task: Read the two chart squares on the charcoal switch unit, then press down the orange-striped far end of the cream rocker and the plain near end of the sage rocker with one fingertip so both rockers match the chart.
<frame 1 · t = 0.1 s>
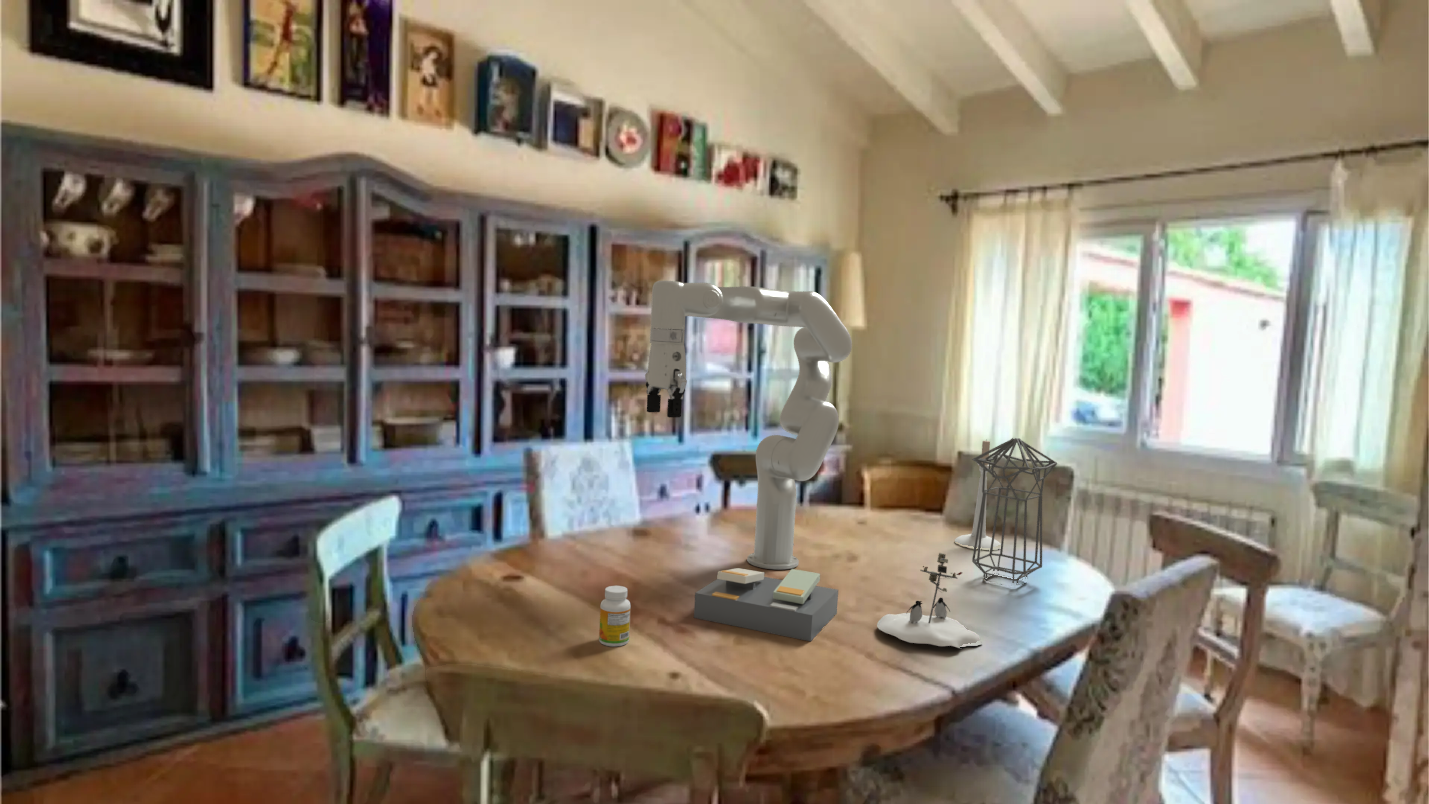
hand: (663, 414, 189), 37 cm above the table, fingers open, 9 cm apart
cream rocker: (741, 575, 173), point 7 cm above the table, hinge at -10.0°
figurine: (927, 638, 164), on the table
sage rocker: (797, 585, 168), point 7 cm above the table, hinge at 10.0°
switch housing: (766, 615, 171), on the table
candlestick: (977, 545, 239), on the table
supplement bottle: (613, 642, 153), on the table
geometric lantern: (1004, 583, 203), on the table
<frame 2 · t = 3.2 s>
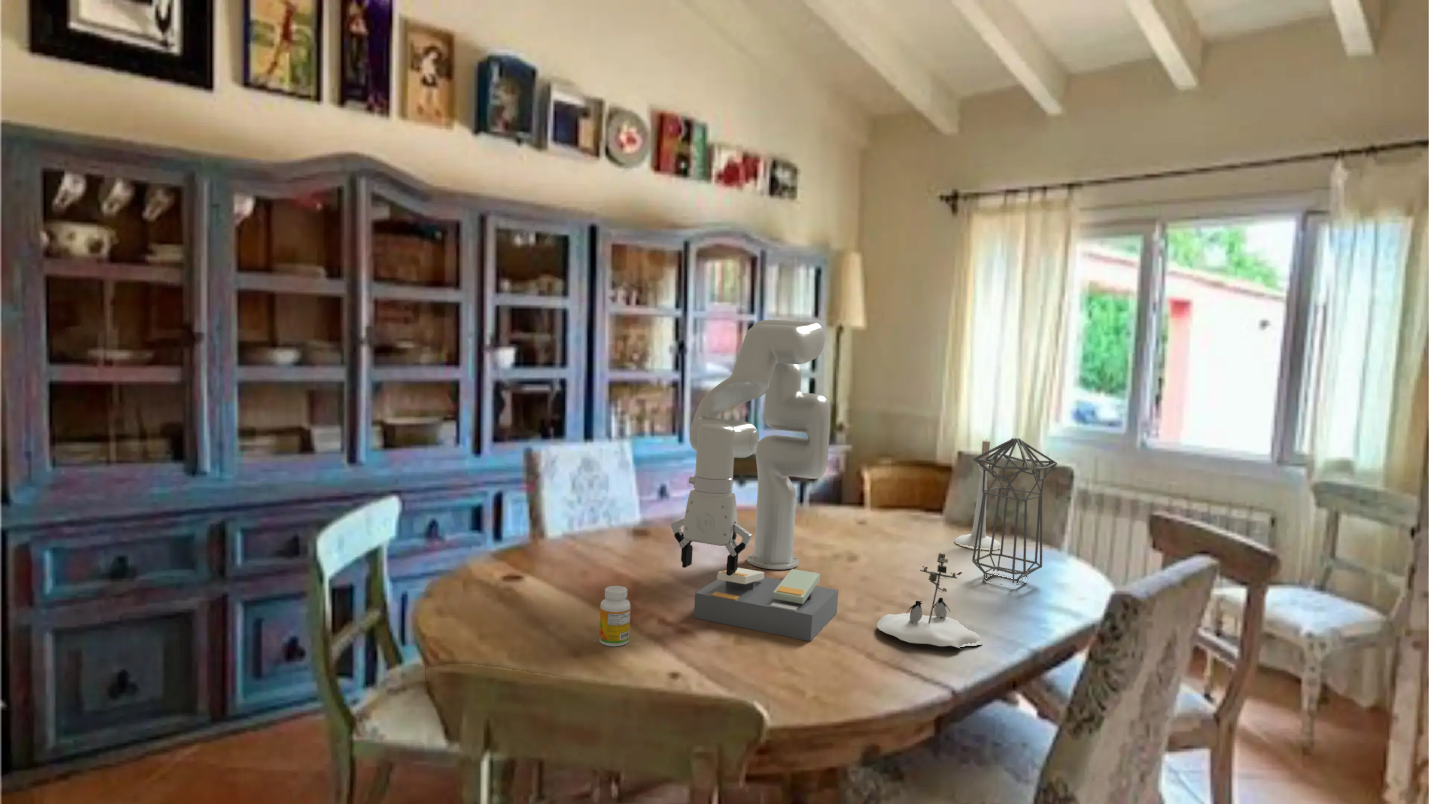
hand: (708, 570, 170), 9 cm above the table, fingers open, 9 cm apart
cream rocker: (741, 575, 173), point 7 cm above the table, hinge at -9.0°, touching gripper
everything else where it was.
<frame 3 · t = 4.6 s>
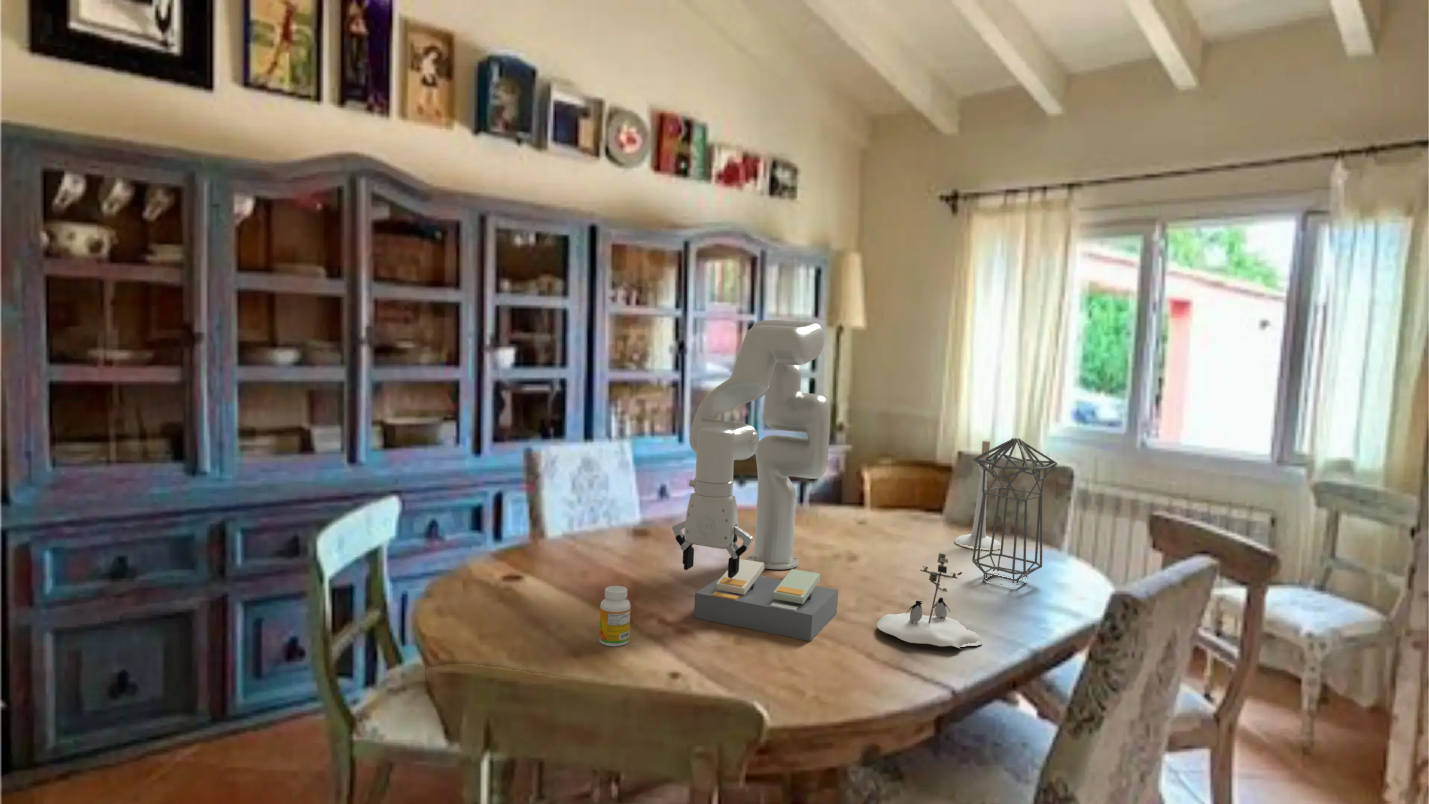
hand: (710, 572, 171), 8 cm above the table, fingers open, 9 cm apart
cream rocker: (740, 575, 172), point 7 cm above the table, hinge at 13.6°
everything else where it was.
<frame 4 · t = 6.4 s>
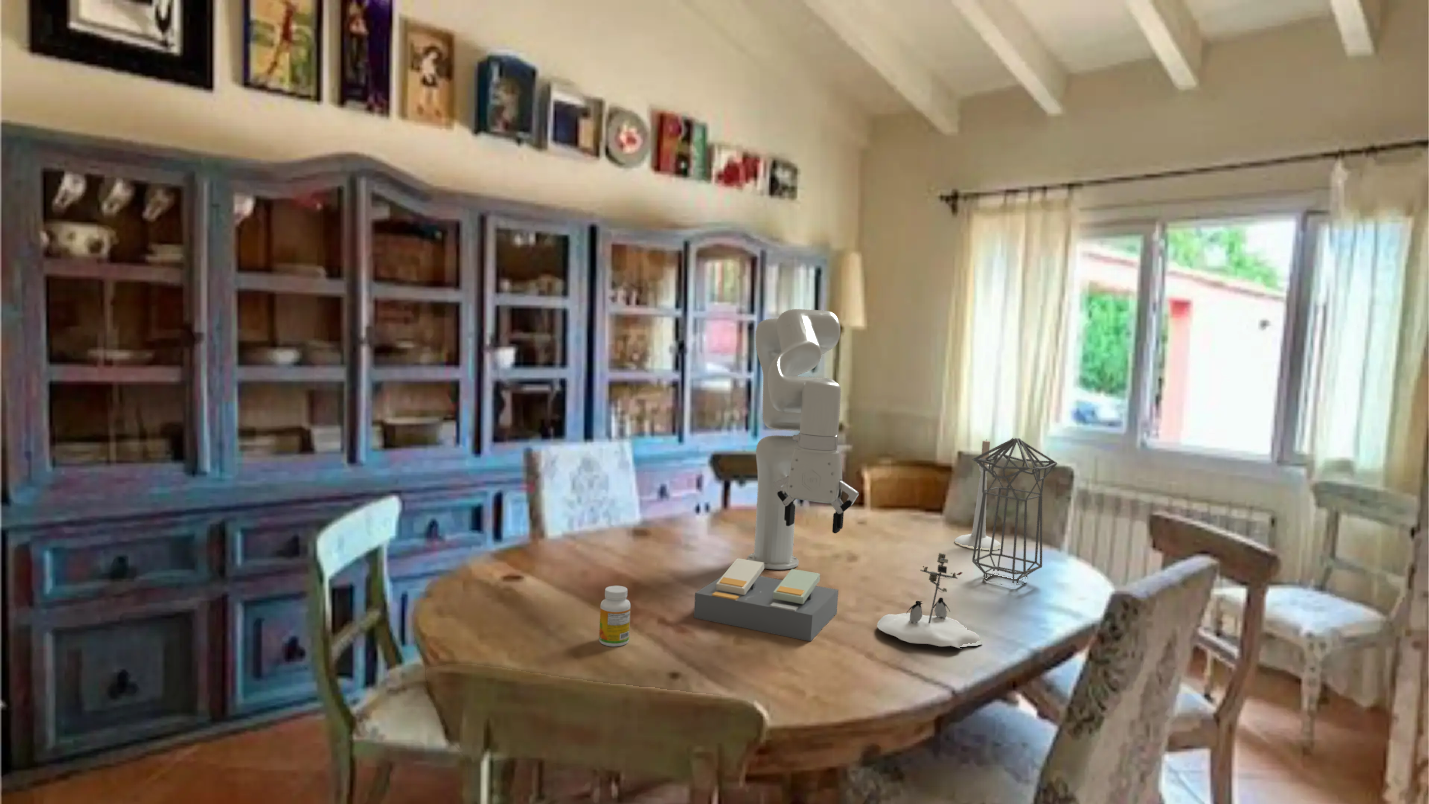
hand: (812, 528, 169), 18 cm above the table, fingers open, 9 cm apart
cream rocker: (740, 575, 172), point 7 cm above the table, hinge at 14.1°
everything else where it was.
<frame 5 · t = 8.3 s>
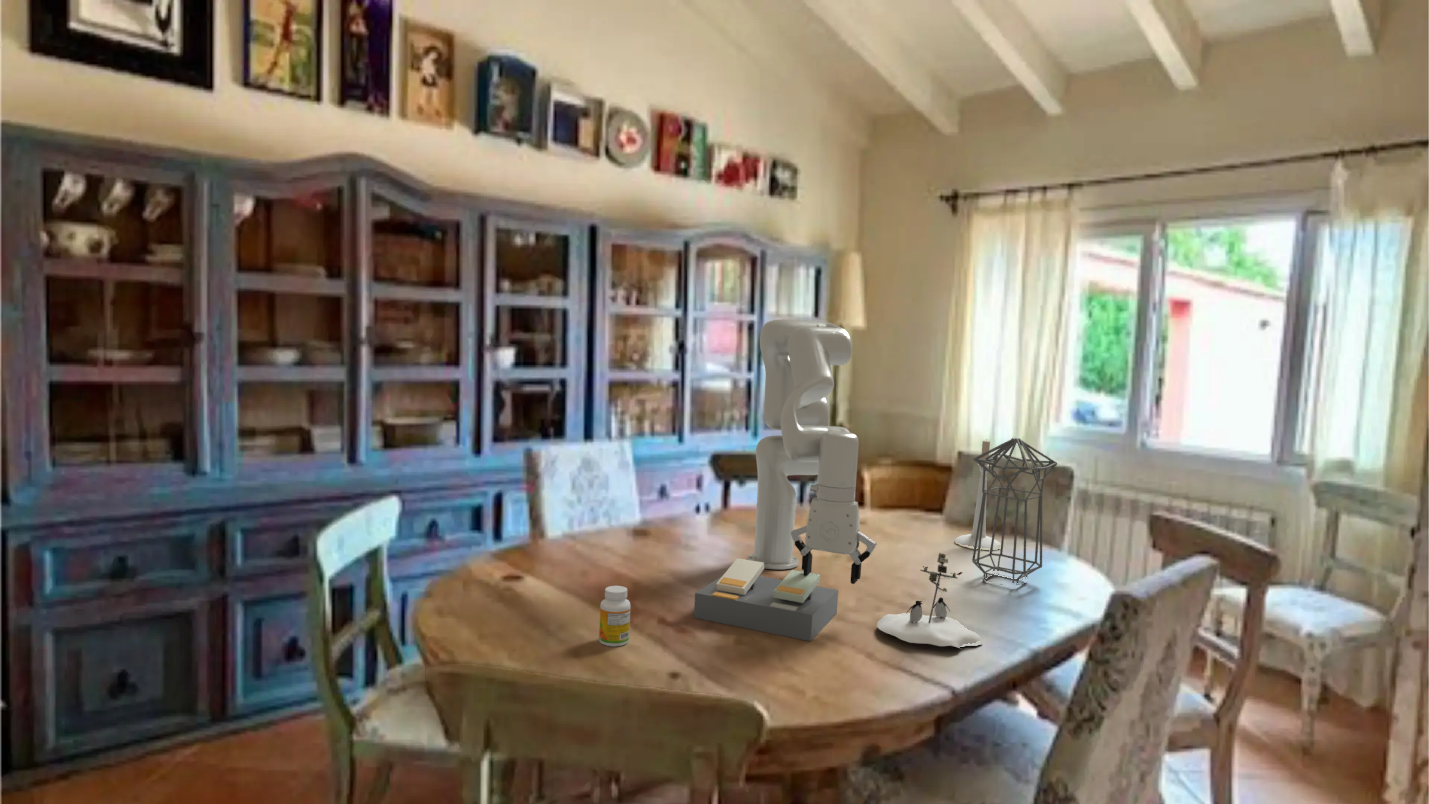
hand: (830, 578, 170), 8 cm above the table, fingers open, 9 cm apart
sage rocker: (797, 585, 168), point 7 cm above the table, hinge at 7.6°, touching gripper
everything else where it was.
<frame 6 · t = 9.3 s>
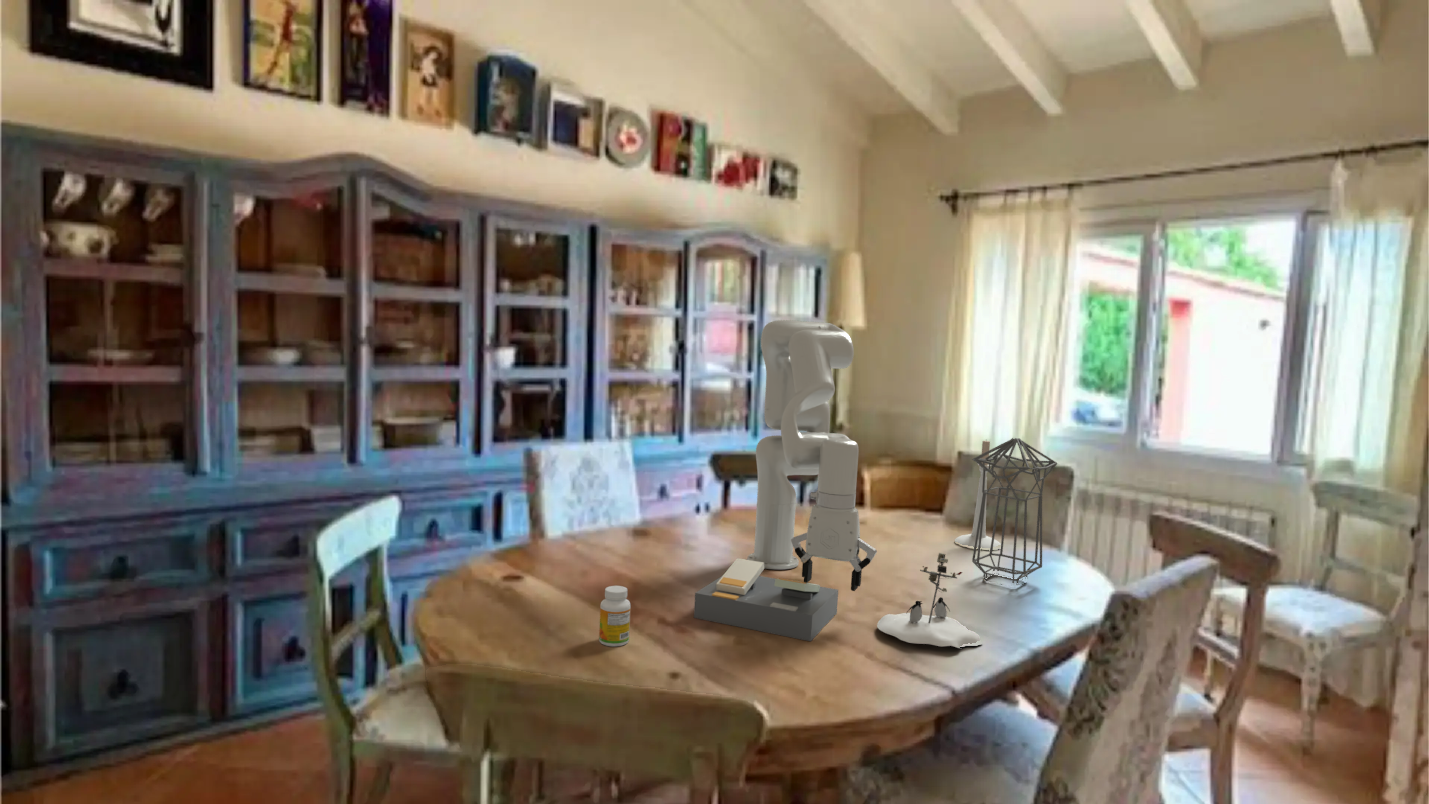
hand: (830, 585, 170), 7 cm above the table, fingers open, 9 cm apart
sage rocker: (797, 585, 168), point 7 cm above the table, hinge at -15.9°, touching gripper, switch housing
everything else where it was.
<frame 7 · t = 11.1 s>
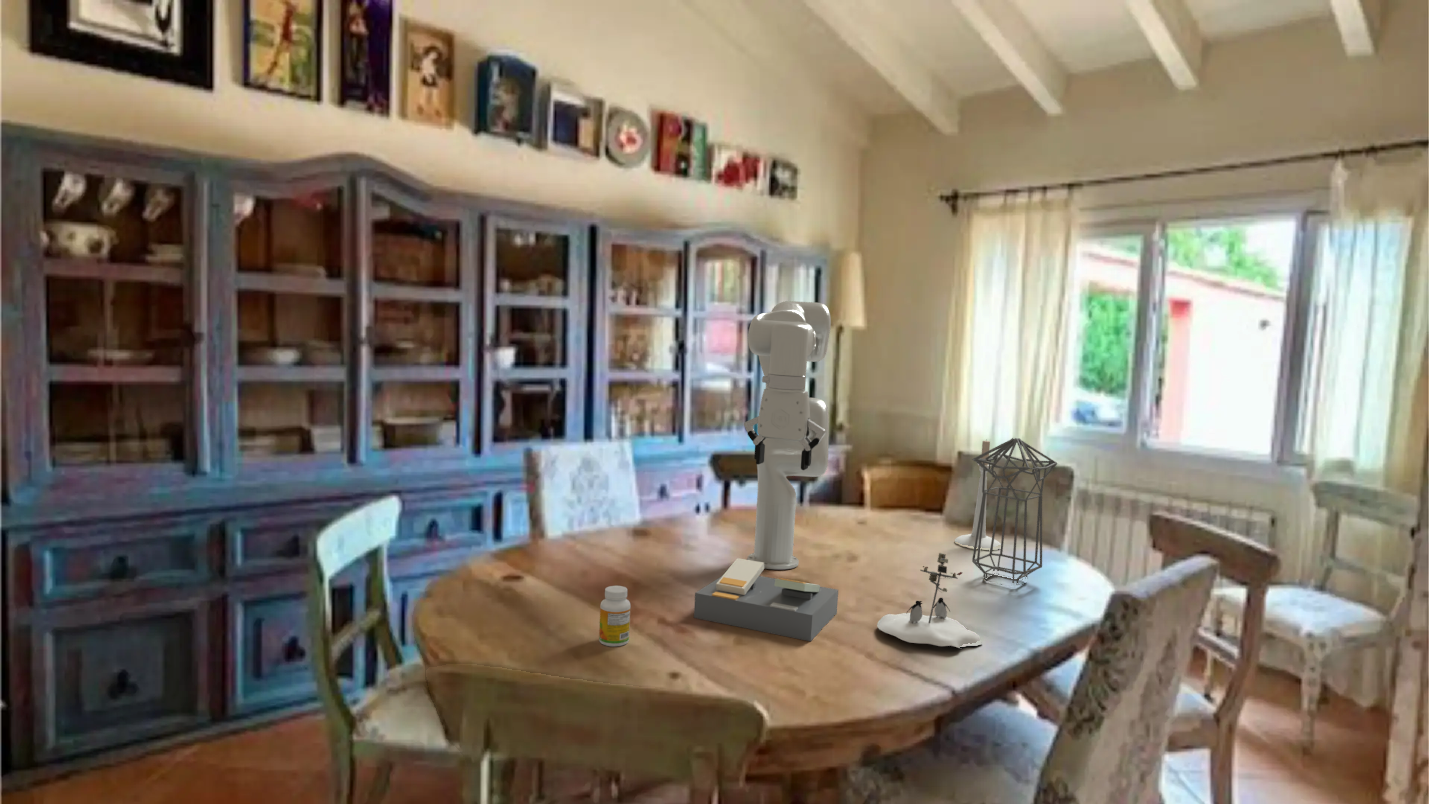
hand: (781, 466, 175), 29 cm above the table, fingers open, 9 cm apart
sage rocker: (797, 585, 168), point 7 cm above the table, hinge at -16.1°, touching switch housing
everything else where it was.
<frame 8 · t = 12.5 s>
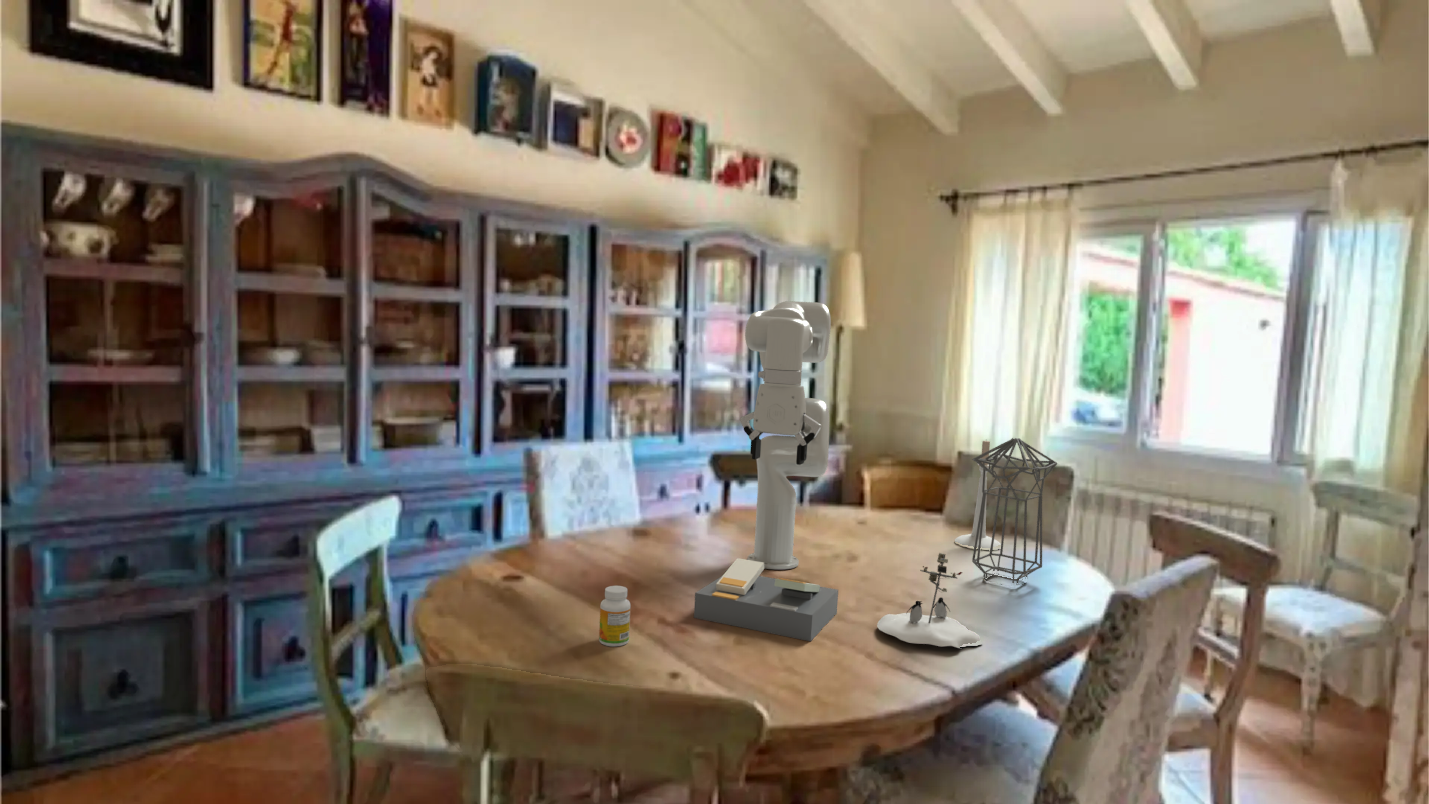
hand: (777, 461, 175), 30 cm above the table, fingers open, 9 cm apart
nothing on the table moved.
at the end: cream rocker at +14° (first picture: -10°); sage rocker at -16° (first picture: +10°) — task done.
